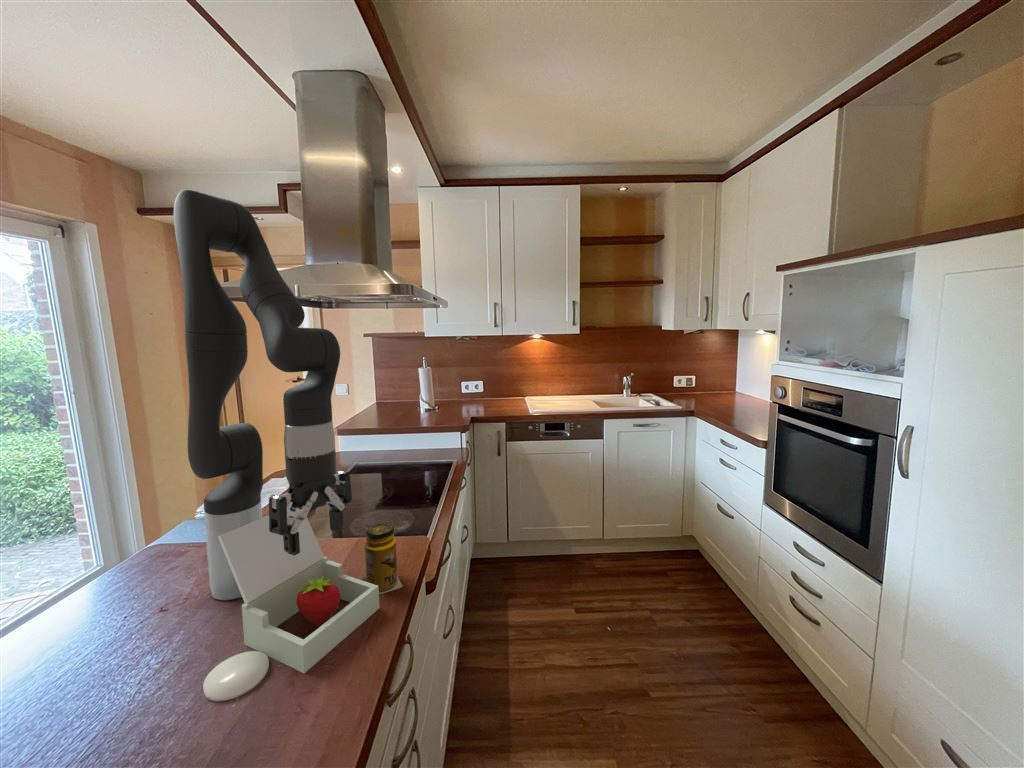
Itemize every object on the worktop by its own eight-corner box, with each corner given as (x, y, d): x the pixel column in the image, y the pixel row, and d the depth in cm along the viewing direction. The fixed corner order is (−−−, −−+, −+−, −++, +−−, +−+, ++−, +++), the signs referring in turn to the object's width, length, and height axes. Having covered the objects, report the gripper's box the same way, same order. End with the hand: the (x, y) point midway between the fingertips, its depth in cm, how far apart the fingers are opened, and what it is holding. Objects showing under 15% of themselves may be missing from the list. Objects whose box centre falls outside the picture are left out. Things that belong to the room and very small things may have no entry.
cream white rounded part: (191, 688, 57) (190, 683, 57) (247, 649, 64) (247, 644, 64) (225, 709, 54) (225, 704, 54) (280, 666, 61) (280, 661, 61)
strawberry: (327, 643, 66) (324, 586, 65) (289, 635, 67) (285, 580, 66) (349, 618, 72) (347, 566, 70) (313, 612, 73) (310, 561, 72)
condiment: (403, 587, 81) (401, 531, 80) (360, 602, 76) (357, 542, 75) (392, 569, 87) (391, 517, 86) (351, 582, 82) (349, 527, 81)
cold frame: (222, 633, 68) (214, 535, 66) (304, 581, 82) (300, 500, 80) (304, 673, 60) (297, 563, 58) (379, 608, 74) (376, 518, 72)
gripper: (329, 437, 74) (333, 520, 76) (253, 457, 61) (260, 557, 63) (360, 441, 71) (363, 527, 73) (286, 463, 58) (293, 568, 60)
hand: (315, 541), depth 68 cm, fingers open, 8 cm apart
